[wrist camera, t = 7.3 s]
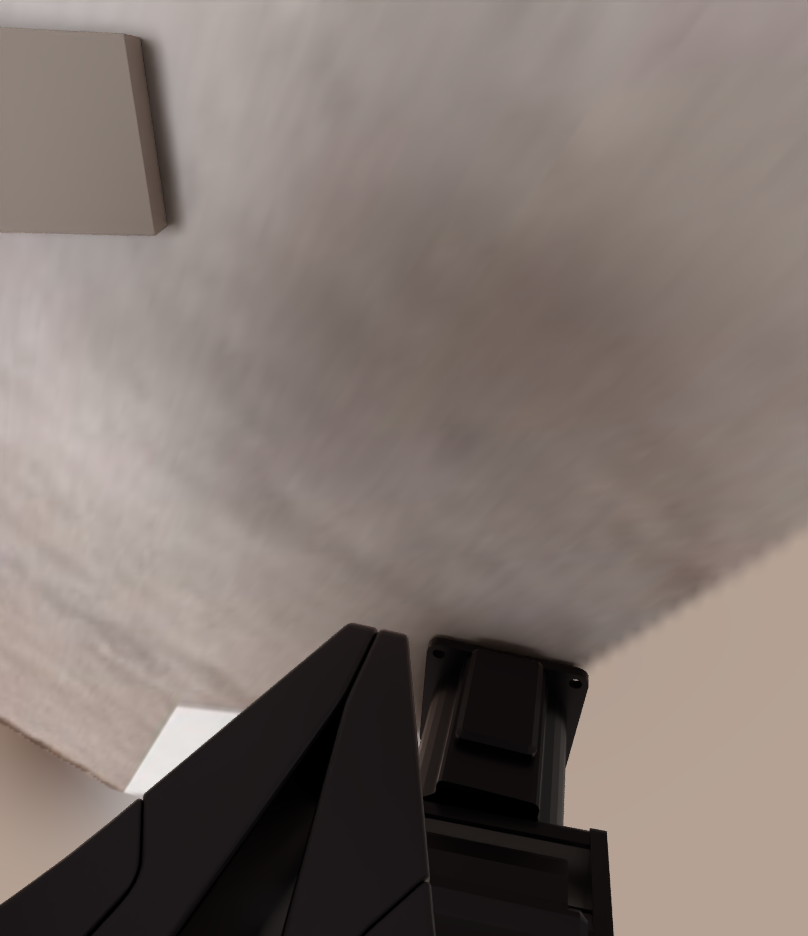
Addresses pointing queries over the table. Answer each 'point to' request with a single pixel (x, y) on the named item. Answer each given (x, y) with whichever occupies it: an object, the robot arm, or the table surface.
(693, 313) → the table surface
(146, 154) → the domino
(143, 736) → the table surface
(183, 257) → the table surface
